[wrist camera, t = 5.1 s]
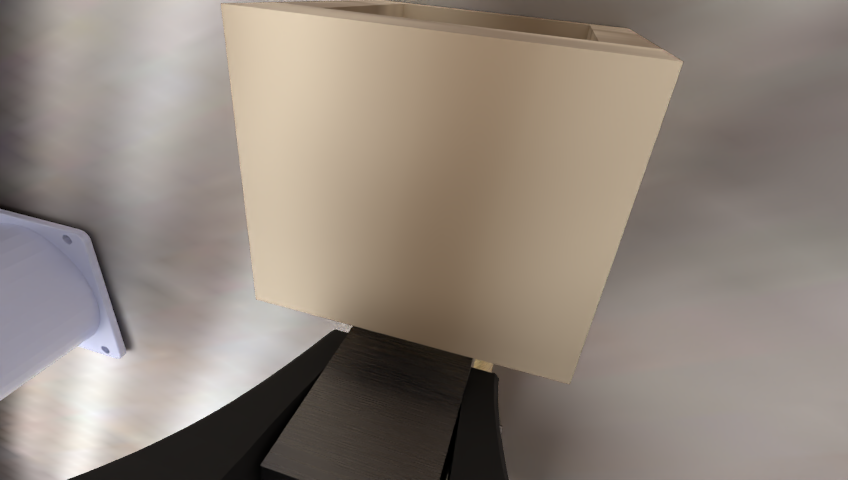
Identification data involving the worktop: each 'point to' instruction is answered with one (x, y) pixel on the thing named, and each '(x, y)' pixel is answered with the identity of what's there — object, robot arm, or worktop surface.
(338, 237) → the socket block
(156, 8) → the worktop surface
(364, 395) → the tube
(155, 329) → the worktop surface
